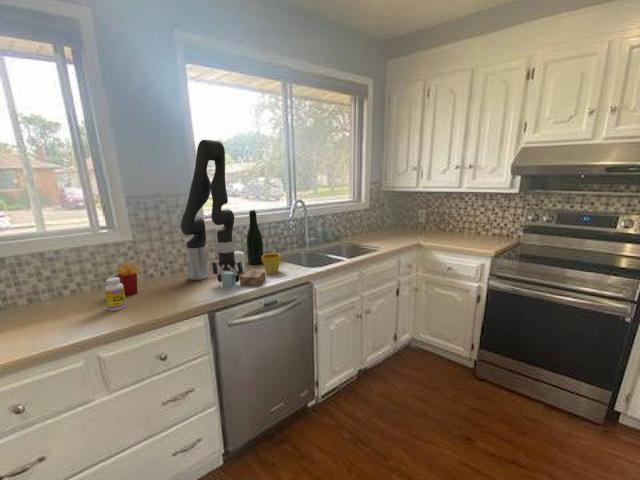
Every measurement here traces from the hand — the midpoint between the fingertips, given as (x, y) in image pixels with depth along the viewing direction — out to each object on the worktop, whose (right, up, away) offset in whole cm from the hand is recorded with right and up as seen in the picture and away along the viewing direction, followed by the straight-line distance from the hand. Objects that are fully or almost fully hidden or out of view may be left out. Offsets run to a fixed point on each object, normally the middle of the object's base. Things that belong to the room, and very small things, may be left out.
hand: (228, 281), depth 161 cm
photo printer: (-1, +2, +20) cm, 20 cm away
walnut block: (+12, -1, +3) cm, 12 cm away
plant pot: (+19, +3, +19) cm, 27 cm away
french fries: (-45, -5, -6) cm, 45 cm away
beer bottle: (+6, +7, +41) cm, 42 cm away
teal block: (0, -2, 0) cm, 2 cm away
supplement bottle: (-40, -8, -25) cm, 48 cm away
